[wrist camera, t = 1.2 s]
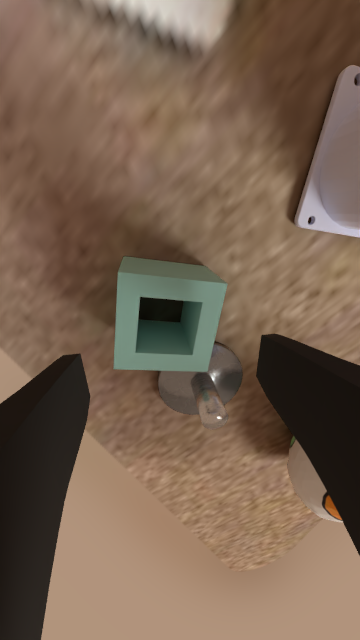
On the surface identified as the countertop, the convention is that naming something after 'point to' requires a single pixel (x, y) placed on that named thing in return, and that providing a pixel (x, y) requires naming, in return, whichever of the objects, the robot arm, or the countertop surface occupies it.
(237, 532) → the countertop surface
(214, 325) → the collar
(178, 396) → the post
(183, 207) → the countertop surface
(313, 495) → the decorative sculpture
